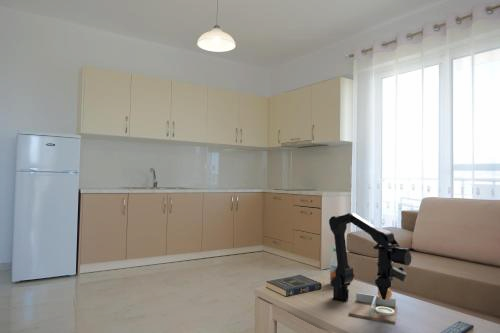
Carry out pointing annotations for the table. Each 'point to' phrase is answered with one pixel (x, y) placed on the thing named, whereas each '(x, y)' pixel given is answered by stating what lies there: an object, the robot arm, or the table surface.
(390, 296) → the ball
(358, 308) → the board
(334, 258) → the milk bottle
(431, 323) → the table surface
